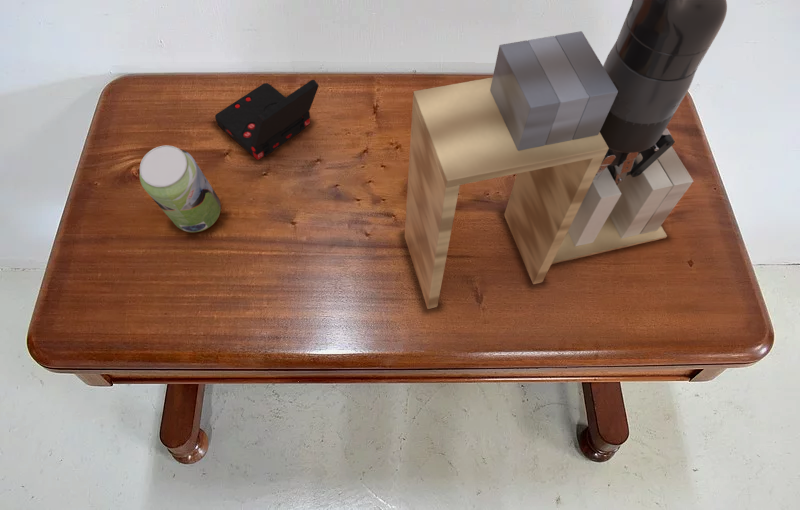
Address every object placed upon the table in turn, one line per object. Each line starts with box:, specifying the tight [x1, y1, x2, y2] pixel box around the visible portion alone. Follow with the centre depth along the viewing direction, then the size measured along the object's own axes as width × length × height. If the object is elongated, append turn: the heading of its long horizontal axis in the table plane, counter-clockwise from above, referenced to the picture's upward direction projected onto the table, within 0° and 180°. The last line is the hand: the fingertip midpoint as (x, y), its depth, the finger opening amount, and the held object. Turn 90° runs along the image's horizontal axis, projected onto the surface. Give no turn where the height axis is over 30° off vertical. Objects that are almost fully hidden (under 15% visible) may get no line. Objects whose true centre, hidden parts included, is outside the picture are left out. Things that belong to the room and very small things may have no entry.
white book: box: [568, 167, 621, 246], centre depth 70 cm, size 7×2×10 cm, turn 15°
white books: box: [551, 145, 694, 265], centre depth 70 cm, size 9×16×10 cm, turn 105°
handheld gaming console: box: [214, 79, 319, 160], centre depth 77 cm, size 9×12×10 cm
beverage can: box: [139, 144, 222, 233], centre depth 69 cm, size 6×7×12 cm
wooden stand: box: [404, 30, 618, 310], centre depth 59 cm, size 10×14×29 cm
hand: (585, 198), depth 70 cm, fingers open, 3 cm apart
